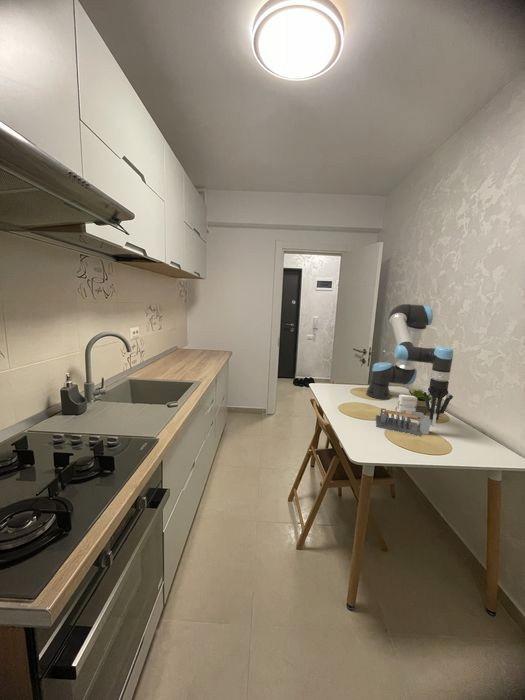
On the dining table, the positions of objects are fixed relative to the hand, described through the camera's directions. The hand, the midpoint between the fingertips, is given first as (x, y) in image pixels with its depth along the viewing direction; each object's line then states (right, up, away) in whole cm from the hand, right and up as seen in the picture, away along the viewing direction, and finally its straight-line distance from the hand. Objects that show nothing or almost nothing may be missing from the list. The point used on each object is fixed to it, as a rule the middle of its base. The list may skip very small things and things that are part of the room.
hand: (432, 425), depth 139 cm
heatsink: (-15, -2, +6) cm, 16 cm away
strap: (-14, +4, +5) cm, 16 cm away
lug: (-6, -3, +3) cm, 7 cm away
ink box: (-2, -1, +23) cm, 23 cm away
